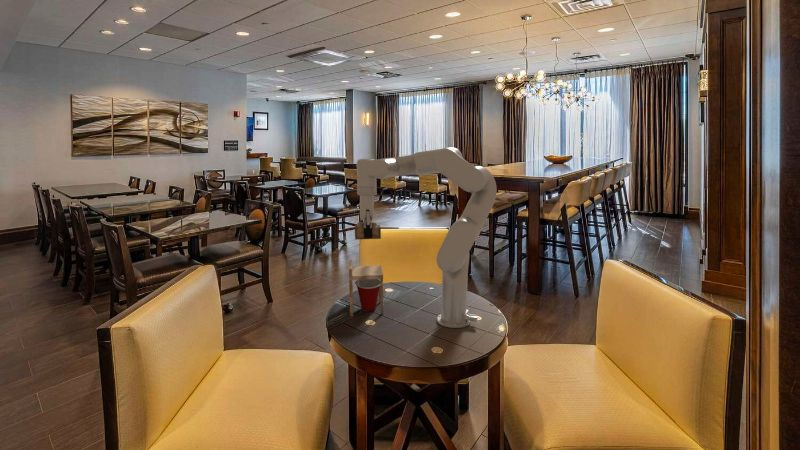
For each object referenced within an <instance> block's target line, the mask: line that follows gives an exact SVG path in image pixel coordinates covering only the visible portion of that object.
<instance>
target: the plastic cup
mask: <svg viewBox="0 0 800 450" xmlns="http://www.w3.org/2000/svg"><path fill="white" fill-rule="evenodd" d="M354 284H355V285H356V288H357V291H358V298H359V302H360V307H361V310H362V311H363V312H373V311H375V310H376V309H377V305H378V304H377V303H378V300H379V288H380V285H381V280H380V279H361V280H355V283H354Z"/></svg>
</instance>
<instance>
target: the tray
mask: <svg viewBox="0 0 800 450" xmlns="http://www.w3.org/2000/svg"><path fill="white" fill-rule="evenodd" d="M371 224H372V238H364V221H359V222H357V223H356V224H355V225H354V240H380V239H382V231H381V230H382V227H381V224H379V223H378V221H371Z"/></svg>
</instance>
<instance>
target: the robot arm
mask: <svg viewBox="0 0 800 450" xmlns="http://www.w3.org/2000/svg"><path fill="white" fill-rule="evenodd" d="M434 174H441V175H443V176H444V177H445V178H446V179H448V180H449V181H451V182H453V184H455V185H456V186H458V187H459V188H461V189H462V190H463V191H465V192H468V193H471V196H470V198H469V200H468V202H467V204H466V206H465V207H464V209H463V212H462V213H461V215H460V217H459V218H458V219H457V220H455V222H454V223H453V224H452V225H451V226H450V228H449V230H448V232H447V233H446V236H445V238H444V240H443V241H442V242H441V243H442V244H441V245H440V248H439V250H438V251H437V254H436V257H435V259H436V265H437V268H439V270H441V271H442V272H441V300H440V301H441V302H440V303H441V305H440V306H441V311H440V312H441V313H440V314H438V315H437V317H436V322H437V323H438V325H440V326H442V327H444V328H445V327H446V328H449V329H463V328H465V327H467V326H469V325H470V323H471V322H475V323H478V319H479V318H478V316H476V314H473V313H472V314H471V313H470V312H469V309H468V308H467V304H468V300H467V299H468V281H469V280H468V279H469V278H468V276H469V275H468V274H469V265H470V251H471V249H472V247H473V245H474V244H475V242H476V240H477V239H478V238H479V237H480V235H481V234H480V233H481V232H482V229H483V227H484V225H485V223H486V221H487V218H488V216H489V214H490V212H491V211H492V208H493V206H494V204H495V201H496V198H497V192H498V191H497V182H496V180H495V178H494V175H493V174H492V173H491V171H490V170H489V169H488V168H486V167H485V166H481V165H475V166H474V165H473V164H471V163H470V162H469V161H467V160H466V159H464V158H463V154H462V152H461V151H460V150H459V149H458V148H456V147H444V148H443V147H442V148H438V149H437V148H436V149H430V150H422V151H418V152H415V153H413V154H409V155H403V156H395V157H385V158H378V159H374V158H360V159H357V161H356V181H357V182H356V186H357V187H356V193H357V196H359V218H360V222H364V238H372V224H371V222H373V220H374V213H375V212H374V207H375V205H374V204H375V203H374V201H375V200H374V199H375V197H374V196H376V195H378V193H377V192H378V190H377V189H378V188H377V179H380V180H385V179H390V178H396V177H402V176H410V175H417V176H425V175H434Z"/></svg>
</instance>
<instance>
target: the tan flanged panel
mask: <svg viewBox="0 0 800 450" xmlns="http://www.w3.org/2000/svg"><path fill="white" fill-rule="evenodd" d="M361 279H380V280H381V285H380V288H379V293H378V304H380V315H381V316H383V315H384V273H383V270H382V265H359V266H358V265H357V266H355V265H354V266H353V260H352V259H348V280H349V281H348V283H349V284H348V285H349V287H348V288H349V290H348V291H349V317H354V302H353V301H354V295H353V293H354V292H353V288H354V287H353V281H356V280H361Z"/></svg>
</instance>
